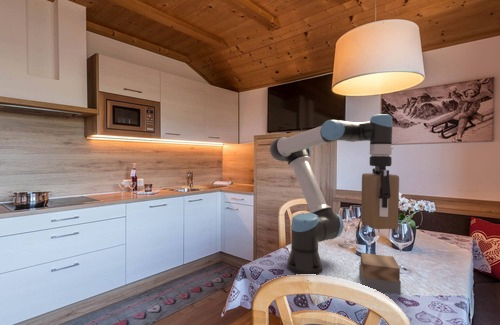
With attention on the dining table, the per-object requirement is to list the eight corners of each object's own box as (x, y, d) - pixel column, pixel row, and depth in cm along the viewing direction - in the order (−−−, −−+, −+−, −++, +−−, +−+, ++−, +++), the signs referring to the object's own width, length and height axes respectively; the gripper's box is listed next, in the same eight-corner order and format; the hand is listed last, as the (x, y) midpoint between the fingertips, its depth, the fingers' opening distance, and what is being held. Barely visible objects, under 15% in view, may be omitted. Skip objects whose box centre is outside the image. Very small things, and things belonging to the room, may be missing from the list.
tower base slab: (364, 291, 98) (364, 277, 97) (359, 276, 109) (359, 264, 109) (400, 295, 95) (400, 281, 95) (391, 280, 106) (391, 267, 106)
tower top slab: (363, 277, 98) (363, 264, 98) (360, 264, 109) (360, 252, 109) (399, 282, 94) (399, 268, 94) (393, 268, 105) (393, 256, 105)
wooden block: (384, 222, 106) (385, 173, 106) (399, 229, 96) (400, 175, 96) (359, 222, 106) (360, 173, 105) (372, 229, 96) (373, 175, 95)
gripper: (402, 155, 88) (400, 220, 89) (382, 155, 111) (381, 207, 112) (377, 155, 90) (376, 219, 90) (363, 155, 113) (362, 206, 113)
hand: (379, 212), depth 101 cm, fingers closed on wooden block, 11 cm apart
